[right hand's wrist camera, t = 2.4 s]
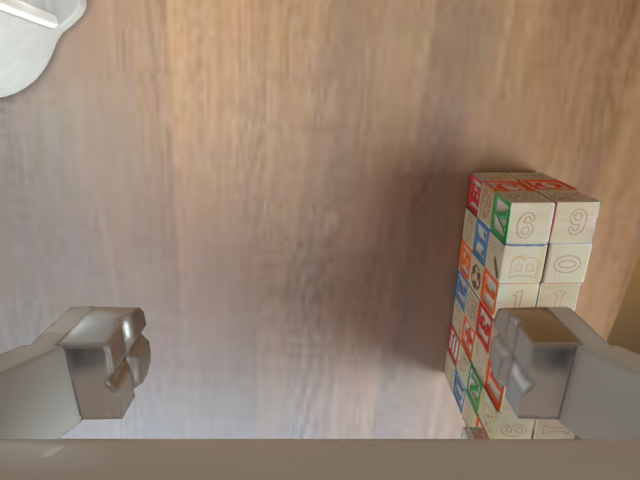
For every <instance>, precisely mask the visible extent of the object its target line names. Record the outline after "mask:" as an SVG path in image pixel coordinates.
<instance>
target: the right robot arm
mask: <svg viewBox="0 0 640 480" xmlns="http://www.w3.org/2000/svg"><path fill="white" fill-rule="evenodd" d="M86 7H87V0H0V98H1V97H6V96H9V95H12V94H14V93H17V92H19V91H21V90H23V89H24V88H26V87H27V86H29V85H30V84H31V83H32V82H34V81H35V80H36V79H37V78H38V77H39V75H40V74H41V73H42V72H43V70H44V69H45V67H46V66H47V64H48V62H49V60H50V58H51V56H52V54H53V51H54V49H55V46H56V44H57V42H58V40H59V38H60V36H61V35H62V33H63V32H65V31H66V30H67V29H68V28H70V27H71V26H72V25H73V24H74V23H76V22H77V21H78V20H79V19H80V18H81V16H82V15H83V14H84V12H85V10H86ZM145 326H146V321H145V316H144V312H143V311H142V310H141V309H140V308H132V307H95V306H90V307H71V308H69V309H68V310H67V311H66V312H65V313H64V314H63V315H62V316H61V317H60V318H59V319H58V320H57V321H55V322H54V323H53V324H52V325H51V326H50V327H49V328H48V329H47V330H46V331H45V332H44V333H43V334H42V335H41V336H40V337H38V338H37V339H36V340H35V341H34V342H33V343H32V344H31V345H29V346H20V347H18V348H16V349H13V350H11V351H8V352H6V353H4V354H1V355H0V480H640V355H639V354H636V353H634V352H632V351H629V350H627V349H624V348H622V347H620V346H611V345H609V344H608V343H607V342H606V341H605V340H604V339H603V338H602V337H601V336H599V335H598V334H597V333H596V332H595V331H594V330H593V329H592V328H591V327H590V326H589V325H588V324H587V323H586V322H585V321H584V320H583V319H581V318H580V317H579V316H578V315H577V314H576V313H575V312H574V311H573V310H572V309H571V308H568V307H565V306H560V307H520V308H499V309H498V311H497V313H496V315H495V320H494V326H495V328H496V329H497V331H498V332H499V334H498V335H497V336H496V337H495V338H494V339H493V340H492V341H491V345H490V353H489V356H490V366H491V369H492V373H493V375H494V377H495V379H496V381H497V383H499V384H500V385H502V386H504V387H505V388H507V389H506V395H505V397H506V399H507V400H508V402H509V404H510V406H511V407H512V409H513V411H514V413H515V414H516V416H517V418H518V419H551V420H559V422H560V423H561V424H563V425H564V426H565V427H567V428H568V429H569V430H571V431H572V432H573V433H575V434H576V435H577V436H579V437H580V438H581V439H59V438H60V437H62V436H63V435H64V434H66V433H67V432H68V431H70V430H71V429H72V428H74V427H75V426H76V425H78V424H79V423H80V422H81V420H89V419H122V418H123V416H124V414H125V413H126V411H127V409H128V407H129V406H130V404H131V402H132V400H133V399H134V397H135V395H134V389H133V388H135V387H136V386H138V385H140V384H141V383H143V381H144V379H145V377H146V375H147V373H148V369H149V365H150V345H149V341H148V340H147V339H146V338H145V337H144V336H143V335H142V334H141V332H142V331H143V329H144V328H145Z"/></svg>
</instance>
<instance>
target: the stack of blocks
mask: <svg viewBox="0 0 640 480" xmlns="http://www.w3.org/2000/svg"><path fill="white" fill-rule="evenodd" d="M467 205H468V207H467V208H466V212H465V219H464V227H463V239H462V242H461V250H460V257H459V264H458V267H459V271H458V279H457V286H456V293H455V296H456V297H455V303H454V311H453V319H452V324H451V328H450V335H449V342H448V350H447V355H446V363H445V371H444V373H445V376H446V379H447V381H448V383H449V386H450V388H451V391H452V393H453V394H454V397H455V399H456V402H457V404H458V406H459V409H460V412H461V414H462V418H463V420H464V423H465V426H466V427H482V428H483V429H484V431H485V433H484V434H485V435H486V436H487V438H488V439H574V437H575V433H573V432H572V431H571V430H569V429H568V428H567V427H565V426H564V425H563V424H561V423H560V422H559V420H551V419H518V418H517V416H516V414H515V413H514V411H513V409H512V407H511V406H510V404H509V402H508V400H507V399H506V397H505V395H506V389H507V388H505V387H504V386H502V385H500V384H499V383H497V381H496V379H495V377H494V375H493V373H492V369H491V366H490V356H489V353H490V345H491V341H492V340H493V339H494V338H495V337H496V336H497V335H498V334H499V332H498V331H497V329H496V328H495V326H494V320H495V315H496V313H497V311H498V309H499V308H520V307H560V306H565V307H568V308H571V309H572V310H573V311H574V312H575V311H576V307H577V302H578V298H579V294H580V289H581V285H582V282H583V281H584V277H585V273H586V269H587V265H588V260H589V256H590V252H591V248H592V243H591V241H592V238H593V234H594V230H595V225H596V222H597V217H598V213H599V209H600V205H601V202H600V201H598V200H596V199H594V198H592V197H590V196H588V195H586V194H584V193H582V192H580V191H577V189H576V188H574V187H572V186H569V185H567V184H565V183H563V182H561V181H558V180H556V179H554V178H551V177H549V176H547V175H545V174H543V173H540V172H524V173H515V172H509V173H505V172H479V173H471V177H470V187H469V196H468V203H467Z"/></svg>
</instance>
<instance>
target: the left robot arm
mask: <svg viewBox="0 0 640 480" xmlns="http://www.w3.org/2000/svg"><path fill="white" fill-rule="evenodd" d="M484 433H485V431H484V429H483V428H482V427H463V428H462V432H461V438H460V439H488V438H487V436H486V435H485V434H484Z"/></svg>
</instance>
